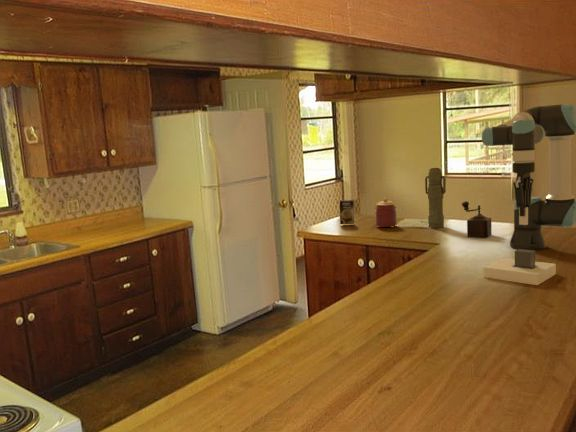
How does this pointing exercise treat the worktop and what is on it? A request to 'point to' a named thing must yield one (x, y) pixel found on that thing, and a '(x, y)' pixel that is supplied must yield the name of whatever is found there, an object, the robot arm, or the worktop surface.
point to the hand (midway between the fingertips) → (523, 224)
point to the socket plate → (519, 271)
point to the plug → (525, 258)
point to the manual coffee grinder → (477, 224)
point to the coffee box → (347, 212)
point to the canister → (386, 213)
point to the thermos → (435, 197)
